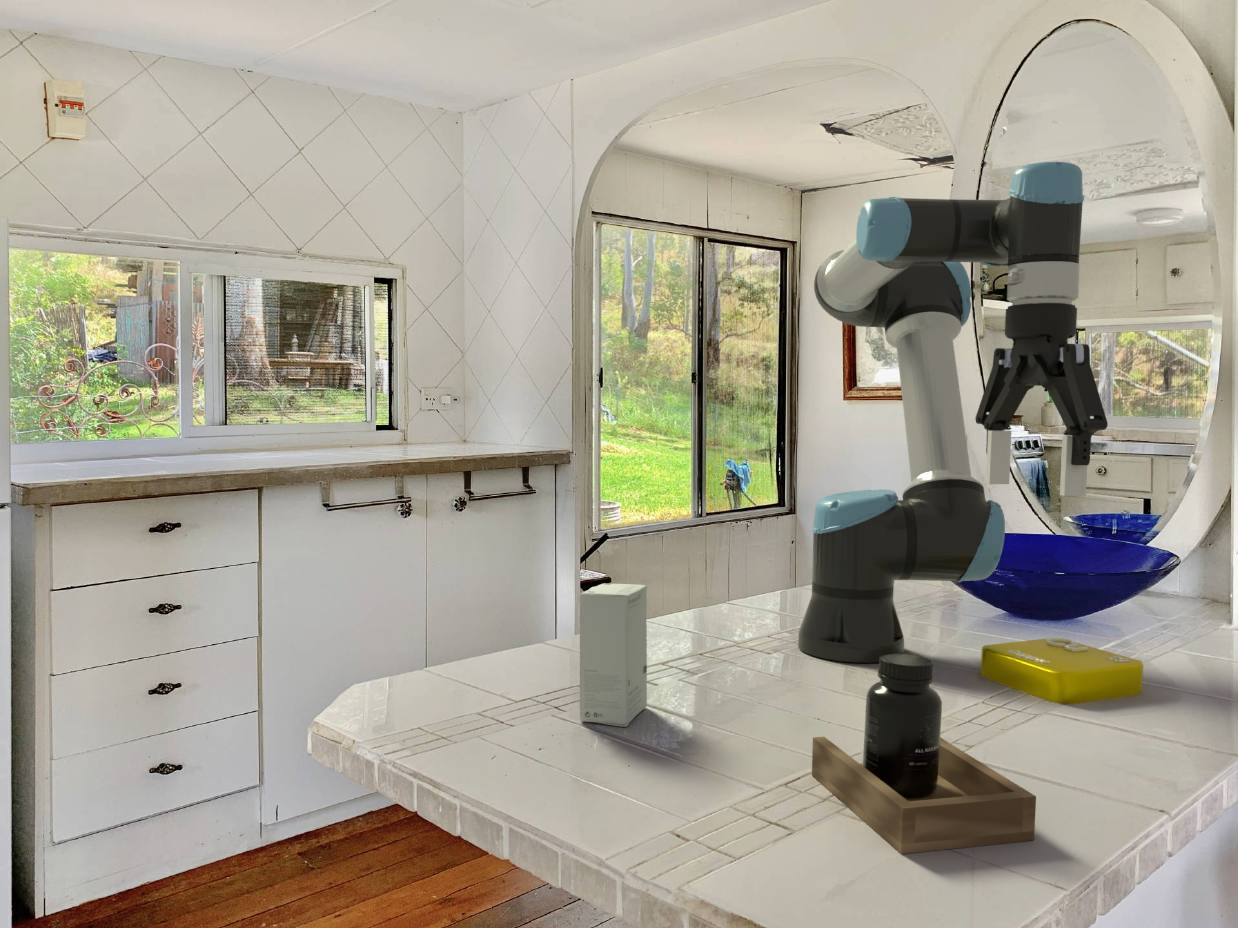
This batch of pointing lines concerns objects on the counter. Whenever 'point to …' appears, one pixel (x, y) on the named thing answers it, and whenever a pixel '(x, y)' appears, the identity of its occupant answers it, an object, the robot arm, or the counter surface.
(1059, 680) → the element tile
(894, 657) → the supplement bottle
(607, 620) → the skincare box
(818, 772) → the u rest
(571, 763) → the counter surface
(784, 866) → the counter surface
